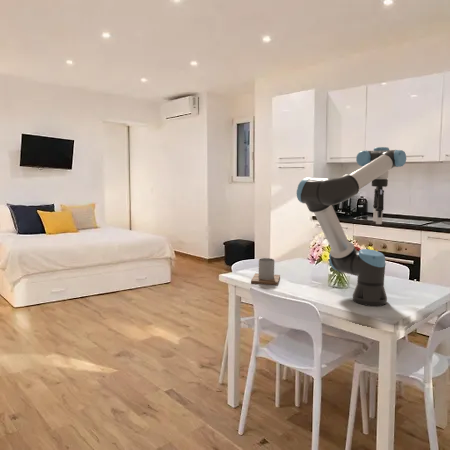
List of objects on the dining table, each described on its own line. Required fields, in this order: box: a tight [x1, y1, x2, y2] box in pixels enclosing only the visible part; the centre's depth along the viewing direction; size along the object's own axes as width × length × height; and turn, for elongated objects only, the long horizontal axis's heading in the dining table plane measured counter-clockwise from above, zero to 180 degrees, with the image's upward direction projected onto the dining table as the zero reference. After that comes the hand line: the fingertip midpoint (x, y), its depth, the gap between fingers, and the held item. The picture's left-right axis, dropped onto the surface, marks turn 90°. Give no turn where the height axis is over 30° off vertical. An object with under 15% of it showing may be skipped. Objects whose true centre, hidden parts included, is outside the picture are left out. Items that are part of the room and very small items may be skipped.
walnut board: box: [250, 272, 281, 286], centre depth 233 cm, size 16×14×2 cm
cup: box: [258, 257, 275, 280], centre depth 232 cm, size 8×8×10 cm
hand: (377, 222), depth 217 cm, fingers open, 10 cm apart
